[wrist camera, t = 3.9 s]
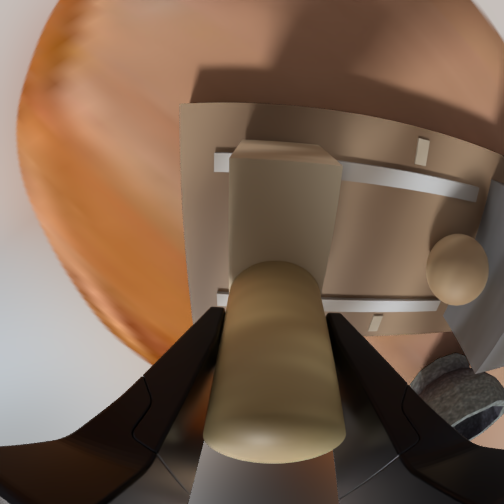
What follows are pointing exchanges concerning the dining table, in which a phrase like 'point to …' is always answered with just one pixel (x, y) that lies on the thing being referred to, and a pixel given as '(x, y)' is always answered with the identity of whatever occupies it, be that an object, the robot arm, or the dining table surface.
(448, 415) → the mortar and pestle
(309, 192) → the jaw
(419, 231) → the base
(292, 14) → the dining table surface
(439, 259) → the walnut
